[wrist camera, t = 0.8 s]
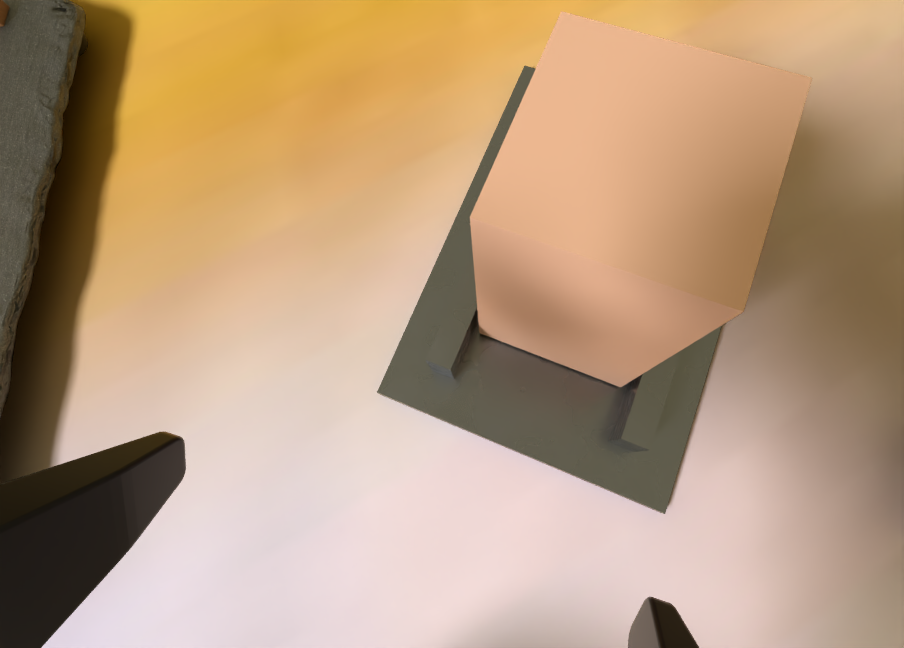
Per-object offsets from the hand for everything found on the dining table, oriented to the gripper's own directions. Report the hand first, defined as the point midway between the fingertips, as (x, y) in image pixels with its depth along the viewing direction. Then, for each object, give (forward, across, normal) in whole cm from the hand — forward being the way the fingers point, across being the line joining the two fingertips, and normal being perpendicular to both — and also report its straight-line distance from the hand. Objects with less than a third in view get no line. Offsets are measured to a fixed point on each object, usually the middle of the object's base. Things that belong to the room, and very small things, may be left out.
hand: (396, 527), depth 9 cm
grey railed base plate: (+20, -3, 0) cm, 20 cm away
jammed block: (+18, -3, +1) cm, 18 cm away
